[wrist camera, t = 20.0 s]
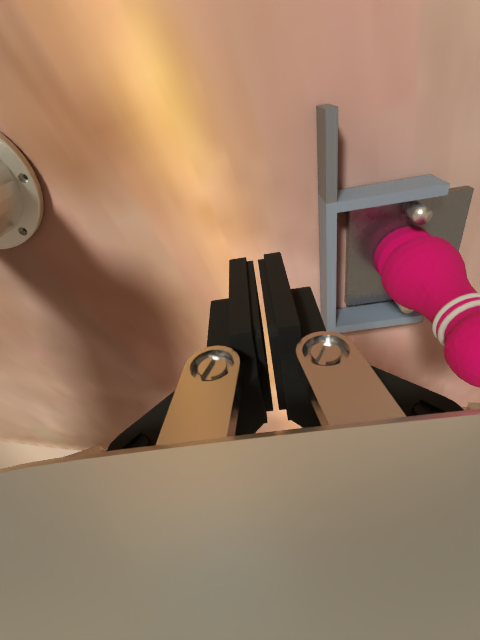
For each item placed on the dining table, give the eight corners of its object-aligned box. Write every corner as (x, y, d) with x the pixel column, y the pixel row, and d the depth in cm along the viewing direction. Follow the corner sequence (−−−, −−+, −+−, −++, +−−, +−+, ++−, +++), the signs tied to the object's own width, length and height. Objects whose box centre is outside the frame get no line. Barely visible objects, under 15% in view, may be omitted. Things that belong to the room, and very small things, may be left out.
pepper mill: (425, 280, 39) (563, 425, 23) (363, 283, 39) (456, 431, 23) (444, 218, 35) (630, 345, 19) (374, 223, 35) (498, 352, 19)
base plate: (344, 301, 42) (353, 320, 38) (347, 205, 35) (359, 218, 31) (444, 287, 41) (462, 305, 38) (468, 185, 34) (493, 197, 31)
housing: (320, 317, 43) (327, 334, 40) (316, 105, 29) (325, 109, 27) (409, 305, 42) (422, 321, 39) (446, 81, 28) (470, 82, 26)
